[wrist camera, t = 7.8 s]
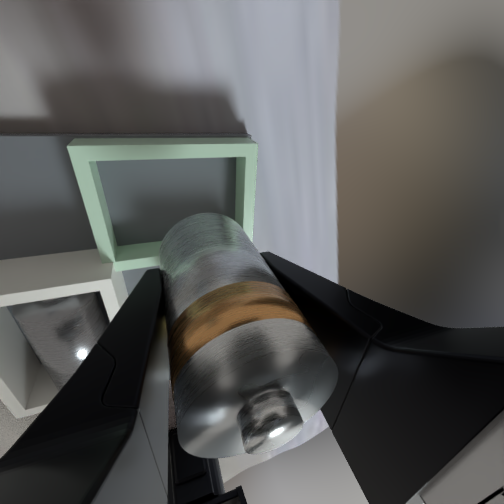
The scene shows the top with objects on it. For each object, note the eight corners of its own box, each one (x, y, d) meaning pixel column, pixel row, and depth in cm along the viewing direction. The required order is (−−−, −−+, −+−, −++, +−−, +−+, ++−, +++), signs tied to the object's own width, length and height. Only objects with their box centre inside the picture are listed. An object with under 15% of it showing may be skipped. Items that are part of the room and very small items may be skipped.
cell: (247, 282, 12) (333, 445, 6) (164, 297, 10) (188, 506, 5) (250, 208, 10) (375, 352, 5) (151, 217, 9) (167, 418, 4)
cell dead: (113, 339, 19) (122, 379, 16) (55, 360, 17) (55, 407, 15) (88, 262, 15) (94, 298, 13) (12, 279, 14) (2, 324, 11)
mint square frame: (238, 354, 25) (256, 402, 21) (58, 403, 20) (40, 474, 17) (247, 133, 15) (283, 152, 11) (-110, 133, 10) (-247, 165, 7)
